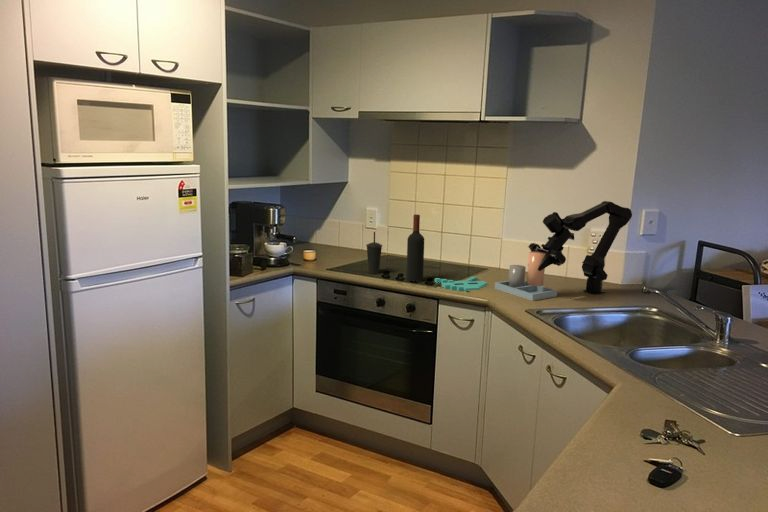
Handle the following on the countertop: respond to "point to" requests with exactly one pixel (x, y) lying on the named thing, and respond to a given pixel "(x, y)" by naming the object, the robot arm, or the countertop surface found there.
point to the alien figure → (462, 284)
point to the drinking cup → (374, 256)
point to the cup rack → (527, 291)
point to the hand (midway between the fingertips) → (533, 268)
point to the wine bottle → (415, 253)
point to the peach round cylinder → (535, 269)
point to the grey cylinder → (516, 276)
